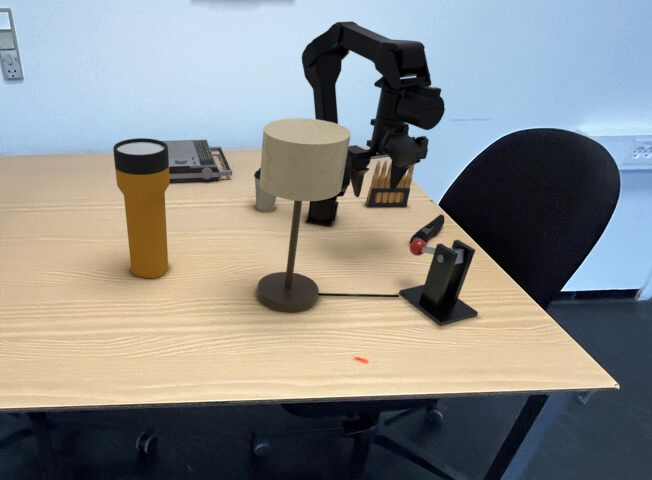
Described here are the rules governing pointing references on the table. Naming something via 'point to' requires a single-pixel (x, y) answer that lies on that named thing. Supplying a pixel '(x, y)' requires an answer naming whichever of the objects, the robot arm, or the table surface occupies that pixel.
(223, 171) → the radio
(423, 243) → the lever
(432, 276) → the switch bracket
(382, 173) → the ammunition clip
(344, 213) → the table surface
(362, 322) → the table surface
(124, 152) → the flashlight
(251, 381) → the table surface
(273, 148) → the desk lamp
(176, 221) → the table surface
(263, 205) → the coffee cup
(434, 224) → the electric trimmer
